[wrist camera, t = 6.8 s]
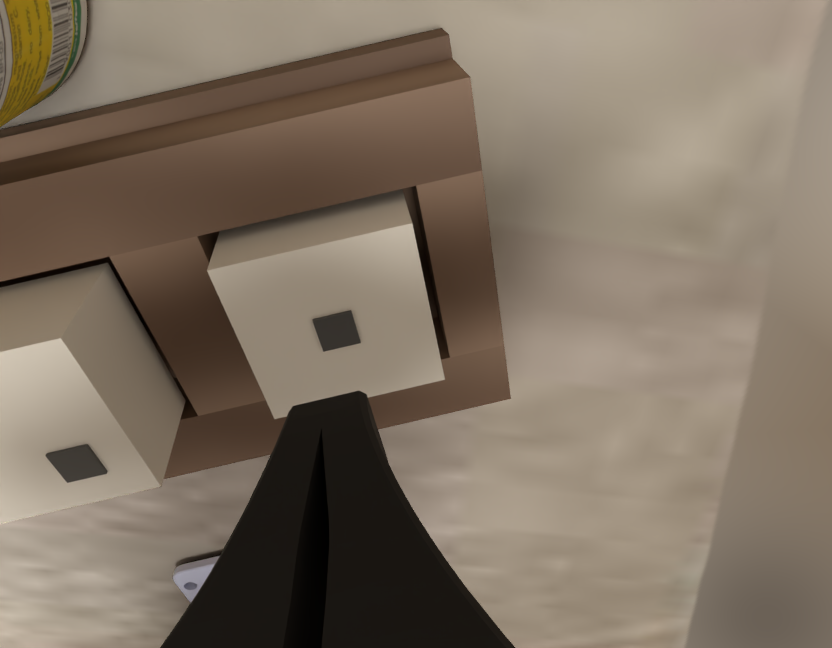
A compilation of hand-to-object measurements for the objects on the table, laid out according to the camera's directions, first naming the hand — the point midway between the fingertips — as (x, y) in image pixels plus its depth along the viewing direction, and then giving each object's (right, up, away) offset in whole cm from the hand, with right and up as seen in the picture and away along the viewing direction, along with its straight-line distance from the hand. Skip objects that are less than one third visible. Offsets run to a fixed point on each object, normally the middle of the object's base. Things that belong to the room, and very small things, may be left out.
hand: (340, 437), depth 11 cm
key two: (-7, +1, +4) cm, 9 cm away
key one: (-1, +4, +5) cm, 6 cm away
